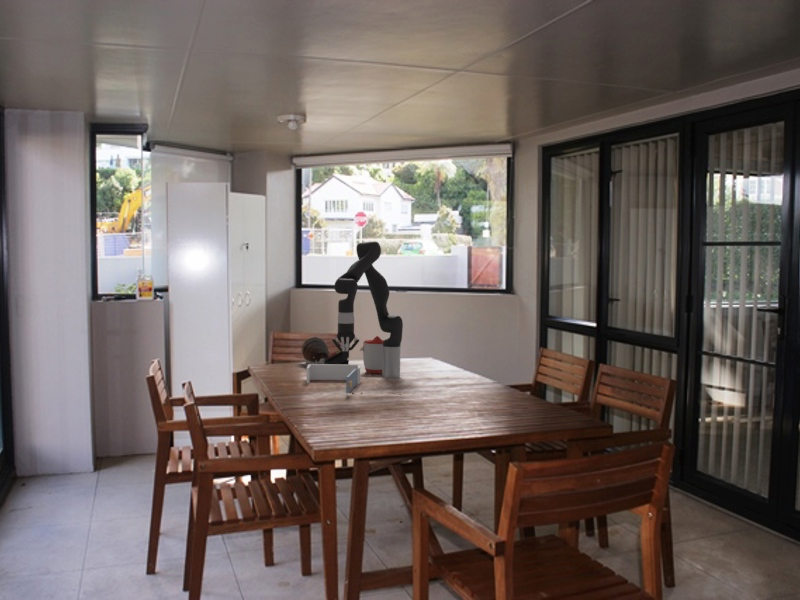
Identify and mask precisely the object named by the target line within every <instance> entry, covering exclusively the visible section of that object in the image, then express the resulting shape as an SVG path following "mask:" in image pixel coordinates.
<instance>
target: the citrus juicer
mask: <svg viewBox="0 0 800 600" xmlns="http://www.w3.org/2000/svg"><path fill="white" fill-rule="evenodd" d="M384 340H385V339H381V337H380V336H378V335H376V336H375V337H373V339H366V340H363V341H364V342H363V345H362V347H361V348H360V349H359V352H361V351H362V356H363V358H362V360H363V367H364V370H365V372H366V373H368V374H370V373H372V374H380V373H382V362H383V341H384Z"/></svg>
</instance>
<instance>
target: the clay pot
mask: <svg viewBox="0 0 800 600" xmlns="http://www.w3.org/2000/svg"><path fill="white" fill-rule="evenodd" d="M301 354H302V358H303V359H304V362H305V363H306V365H308V364H326V362H324V360H325V359H324V358H326V357H328V356H329V355H330V351H329V348H328V346H327V344H326V342H325V341H324V340H323V339H322V338H320V337H316V336H315V337H310V338H308V339H306V340H304V342H303V344H302V347H301Z"/></svg>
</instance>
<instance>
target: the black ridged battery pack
mask: <svg viewBox="0 0 800 600" xmlns="http://www.w3.org/2000/svg"><path fill="white" fill-rule="evenodd" d="M342 355H343V352H342V350H339V349H338V350H337V351H335V352H333V353H332V354H329V356H328V357H326V358H324V359H325V360H324V362H326V364H342V365H350V364H349V363H350V360H349V359H344V358H343V357H342Z"/></svg>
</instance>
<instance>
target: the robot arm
mask: <svg viewBox="0 0 800 600" xmlns="http://www.w3.org/2000/svg"><path fill="white" fill-rule="evenodd" d="M381 253H382V248H381V245H380V243H379V242H378V241H376V240H373V241H364V242H363V241H362V242H359V243H357V245H356V254H357V258H358V260H356V261H355V262H353V263H352V264H351V266H349V268H348V269H347V271H346V272H344V273H343V274H342V275H341V276H339V277H338V278H337V279H336V280H335V282H334V291H335V292H336V293H337V294H339V295H340V294H341V295H347V296H346V298H342V299H340V300H338V304H337V305H338V307H337V308H338V309H337V310H338V311H337V312H338V314H337V335H336V337H334V338H333V339H332V342H333V344H334V345H335V346H336V348H337V349H338V351H339V350H342V352H343V355H342V357H343V358H344V359H347V360H349V358H350V351H352V350H353V349H354V348H355V347H356V345H358V344H359V342H360V339H359V338H358V337H356V335H355V313H354V312H355V310H354V309H355V308H354V307H355V305H354V303H355V300H356V296H357V292H358V282H360V280H361V279H362V277H363V275H364V276H365V278H366V280H367V284H368V287H369V291H370V294H371V296H372V299H373V303H374V306H375V311H376V314H377V315H376V316H377V319H378V325H379V327H380V330H381V331H382V332H383V333H386V334H387V333H389V334H390V335H389V337H388V338H387V339H383V340H384V341H383V362H382V374H381V375H382V378H386V379H398V378H401V345H402V340H403V329H404V327H403V325H404V324H403V319H402V317H401V316H400V315H393V314H390V313H389V311H388V307H387V304H388V301H389V297H390V289H389V285H388V282H387V280H386V278H385V277H384V275H382V274H381V273H380V272H379V271H378V270H377V269H376V268H375V267H374V265H373V264H374V263H375V262H376V261H377V260H379V259H380V256H381ZM352 342H353V343H352ZM340 343H341V344H340ZM351 344H352V345H351Z"/></svg>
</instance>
